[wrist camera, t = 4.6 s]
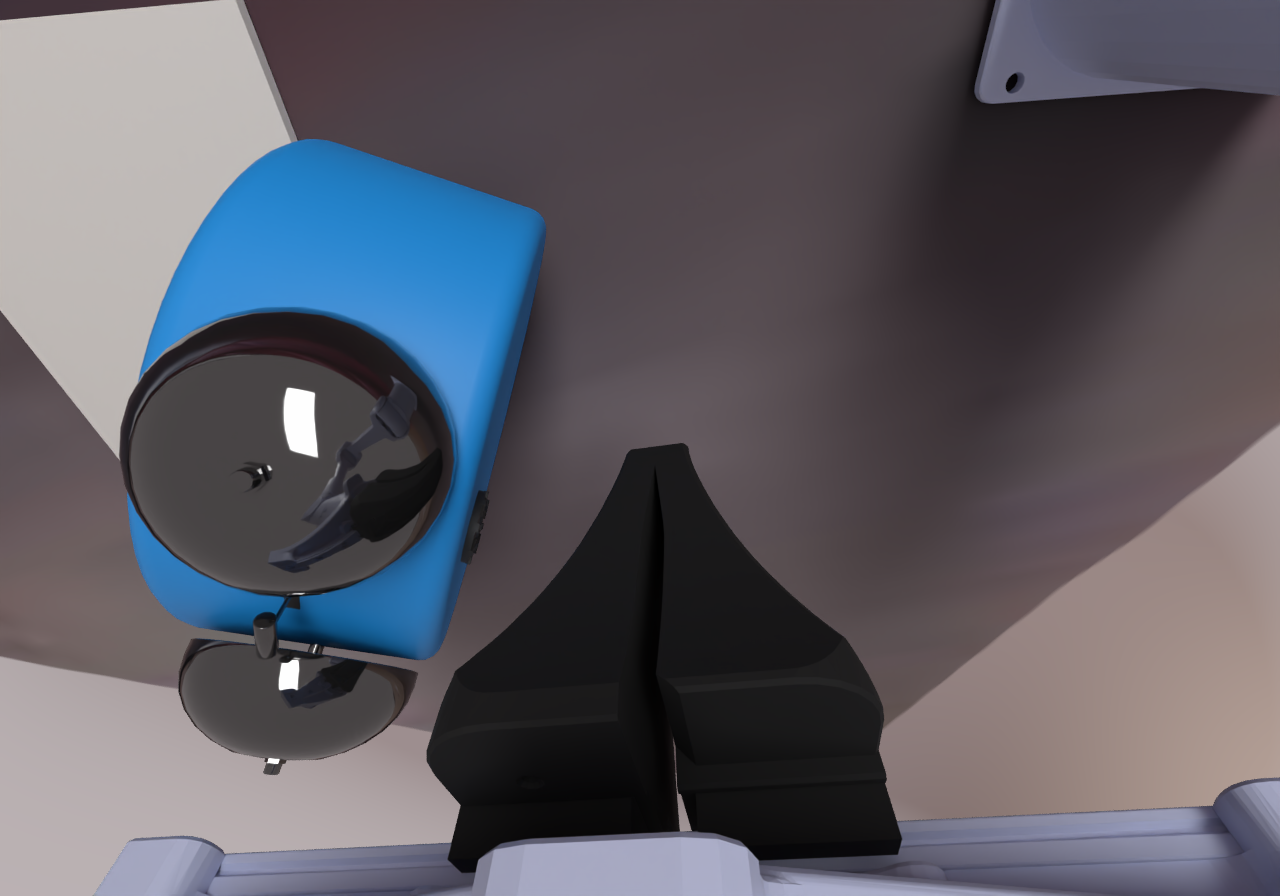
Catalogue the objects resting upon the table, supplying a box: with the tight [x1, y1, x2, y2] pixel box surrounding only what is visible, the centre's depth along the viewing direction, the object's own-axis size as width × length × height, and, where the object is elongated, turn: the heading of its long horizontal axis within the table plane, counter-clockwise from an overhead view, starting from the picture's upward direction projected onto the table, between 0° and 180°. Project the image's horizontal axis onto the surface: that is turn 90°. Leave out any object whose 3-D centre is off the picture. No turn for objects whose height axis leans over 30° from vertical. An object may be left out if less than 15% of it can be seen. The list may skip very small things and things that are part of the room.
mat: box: [0, 0, 298, 460], centre depth 22 cm, size 14×20×1 cm
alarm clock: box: [119, 139, 546, 775], centre depth 16 cm, size 13×6×15 cm, turn 161°
